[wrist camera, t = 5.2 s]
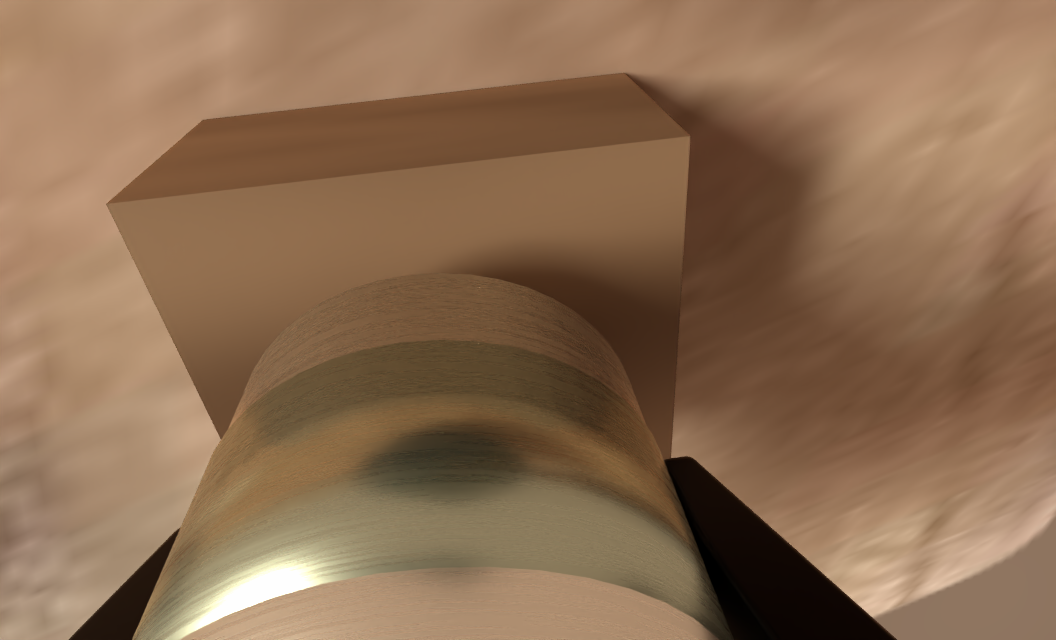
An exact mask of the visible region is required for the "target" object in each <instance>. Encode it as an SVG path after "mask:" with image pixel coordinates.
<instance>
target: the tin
mask: <svg viewBox="0 0 1056 640" xmlns="http://www.w3.org/2000/svg"><path fill="white" fill-rule="evenodd" d="M132 640H734V639H733V636H732V634H731V631H730V629H729V626H728V623H727V621H726V618H725V616H724V613H723V611H722V608H721V605H720V603H719V600H718V598H717V595H716V593H715V590H714V588H713V585H712V582H711V580H710V577H709V575H708V572H707V570H706V567H705V564H704V562H703V559H702V557H701V554H700V552H699V549H698V546H697V544H696V541H695V539H694V536H693V534H692V531H691V528H690V526H689V523H688V521H687V518H686V516H685V513H684V511H683V508H682V505H681V503H680V500H679V498H678V495H677V493H676V490H675V487H674V485H673V482H672V480H671V477H670V475H669V472H668V469H667V467H666V464H665V462H664V459H663V457H662V454H661V452H660V450H659V447H658V445H657V443H656V441H655V438H654V436H653V434H652V433H651V431H650V430H649V429H648V427H647V426H646V423H645V420H644V418H643V415H642V413H641V410H640V407H639V405H638V402H637V399H636V397H635V394H634V392H633V389H632V386H631V384H630V381H629V379H628V376H627V374H626V372H625V370H624V367H623V365H622V363H621V361H620V359H619V358H618V356H617V355H616V353H615V352H614V350H613V349H612V347H611V346H610V344H609V343H608V342H607V341H606V340H605V338H604V337H603V336H602V335H601V334H600V333H599V332H598V331H597V330H596V329H595V328H594V327H593V326H592V325H591V324H590V323H588V322H587V321H586V320H585V319H584V318H582V317H581V316H580V315H579V314H577V313H576V312H575V311H573V310H572V309H570V308H568V307H567V306H565V305H563V304H561V303H560V302H558V301H556V300H555V299H553V298H551V297H549V296H546V295H544V294H542V293H540V292H537V291H535V290H533V289H530V288H528V287H525V286H521V285H518V284H515V283H511V282H508V281H504V280H501V279H496V278H490V277H484V276H478V275H472V274H454V273H429V274H414V275H406V276H400V277H395V278H389V279H384V280H379V281H376V282H372V283H369V284H366V285H363V286H359V287H356V288H353V289H350V290H348V291H346V292H343V293H341V294H339V295H337V296H335V297H332V298H330V299H328V300H326V301H324V302H322V303H321V304H319V305H317V306H316V307H314V308H313V309H311V310H309V311H308V312H306V313H304V314H303V315H301V316H300V317H299V318H298V319H297V320H295V321H294V322H293V323H292V324H291V325H289V326H288V327H287V328H286V329H285V330H283V331H282V332H281V333H280V334H279V336H278V337H277V338H276V339H275V340H274V341H273V342H272V343H271V345H270V346H269V347H268V348H267V349H266V350H265V352H264V353H263V355H262V357H261V358H260V360H259V361H258V363H257V365H256V366H255V368H254V369H253V372H252V374H251V376H250V379H249V381H248V383H247V386H246V388H245V390H244V393H243V395H242V397H241V400H240V402H239V405H238V407H237V409H236V412H235V414H234V416H233V419H232V421H231V423H230V426H229V428H228V430H227V431H226V433H225V435H224V436H223V438H222V439H221V441H220V442H219V444H218V446H217V447H216V449H215V450H214V452H213V454H212V456H211V459H210V461H209V463H208V466H207V468H206V470H205V473H204V475H203V477H202V480H201V482H200V484H199V486H198V489H197V491H196V493H195V496H194V498H193V500H192V503H191V505H190V507H189V510H188V512H187V514H186V516H185V519H184V521H183V523H182V526H181V528H180V530H179V533H178V535H177V537H176V540H175V542H174V544H173V546H172V549H171V551H170V553H169V556H168V558H167V560H166V563H165V565H164V567H163V570H162V572H161V574H160V576H159V579H158V581H157V583H156V586H155V588H154V590H153V593H152V595H151V597H150V599H149V602H148V604H147V606H146V609H145V611H144V613H143V616H142V618H141V620H140V623H139V625H138V627H137V629H136V632H135V634H134V636H133V639H132Z"/></svg>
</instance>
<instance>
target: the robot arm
mask: <svg viewBox="0 0 1056 640" xmlns="http://www.w3.org/2000/svg"><path fill="white" fill-rule="evenodd" d="M664 462H665V464H666V467H667V469H668V472H669V475H670V477H671V480H672V482H673V485H674V487H675V490H676V493H677V495H678V498H679V500H680V503H681V505H682V508H683V511H684V513H685V516H686V518H687V521H688V523H689V526H690V528H691V531H692V534H693V536H694V539H695V541H696V544H697V546H698V549H699V552H700V554H701V557H702V559H703V562H704V564H705V567H706V570H707V572H708V575H709V577H710V580H711V582H712V585H713V588H714V590H715V593H716V595H717V598H718V600H719V603H720V605H721V608H722V611H723V613H724V616H725V618H726V621H727V623H728V626H729V629H730V631H731V634H732V636H733V639H734V640H897V639H896V638H895V637H894V636H892V635H891V634H890V633H889V632H888V631H887V630H886V629H884V628H883V627H882V626H881V625H880V624H879V623H878V622H877V621H876V620H874V619H873V618H872V617H871V616H870V615H869V614H868V613H867V612H865V611H864V610H863V609H862V608H861V607H860V606H859V605H858V604H856V603H855V602H854V601H853V600H852V599H851V598H850V597H849V596H847V595H846V594H845V593H844V592H843V591H842V590H841V589H840V588H838V587H837V586H836V585H835V584H834V583H833V582H832V581H831V580H829V579H828V578H827V577H826V576H825V575H824V574H823V573H822V572H820V571H819V570H818V569H817V568H816V567H815V566H814V565H813V564H811V563H810V562H809V561H808V560H807V559H806V558H805V557H804V556H802V555H801V554H800V553H799V552H798V551H797V550H796V549H795V548H793V547H792V546H791V545H790V544H789V543H788V542H787V541H786V540H784V539H783V538H782V537H781V536H780V535H779V534H778V533H777V532H775V531H774V530H773V529H772V528H771V527H770V526H769V525H768V524H766V523H765V522H764V521H763V520H762V519H761V518H760V517H759V516H757V515H756V514H755V513H754V512H753V511H752V510H751V509H750V508H748V507H747V506H746V505H745V504H744V503H743V502H742V501H741V500H739V499H738V498H737V497H736V496H735V495H734V494H733V493H732V492H730V491H729V490H728V489H727V488H726V487H725V486H724V485H723V484H721V483H720V482H719V481H718V480H717V479H716V478H715V477H714V476H712V475H711V474H710V473H709V472H708V471H707V470H706V469H705V468H704V467H702V466H701V465H700V464H699V463H698V462H697V461H696V460H694V459H693V458H691V457H688V456H685V457H678V458H670V459H665V460H664ZM180 528H181V527H180ZM180 528H179V529H178V530H176V531H175V532H174V533H173V534H172V535H171V536H170V537H169V538H168V539H167V540H166V541H165V542H164V543H163V544H162V545H161V546H160V547H159V548H158V549H157V550H156V551H155V552H154V553H153V554H152V555H151V556H150V557H149V558H148V559H147V560H146V561H145V562H144V564H143V565H142V566H141V567H140V568H139V569H138V570H137V571H136V572H135V573H134V574H133V575H132V576H131V577H130V578H129V579H128V580H127V581H126V582H125V583H124V584H123V585H122V586H121V587H120V588H119V589H118V590H117V591H116V592H115V593H114V594H113V595H112V596H111V597H110V598H109V599H108V600H107V601H106V602H105V603H104V604H103V605H102V606H101V607H100V608H99V609H98V610H97V611H96V612H95V613H94V614H93V615H92V616H91V617H90V618H89V619H88V620H87V621H86V622H85V623H84V624H83V625H82V626H81V627H80V628H79V629H78V630H77V631H76V632H75V634H74V635H73V636H72V637H71V638H70V639H69V640H132V639H133V636H134V634H135V632H136V629H137V627H138V625H139V623H140V620H141V618H142V616H143V613H144V611H145V609H146V606H147V604H148V602H149V599H150V597H151V595H152V593H153V590H154V588H155V586H156V583H157V581H158V579H159V576H160V574H161V572H162V570H163V567H164V565H165V563H166V560H167V558H168V556H169V553H170V551H171V549H172V546H173V544H174V542H175V540H176V537H177V535H178V533H179V530H180Z"/></svg>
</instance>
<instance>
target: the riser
mask: <svg viewBox="0 0 1056 640" xmlns="http://www.w3.org/2000/svg"><path fill="white" fill-rule="evenodd" d="M689 152H690V135H689V134H688V133H687V132H686V131H685V130H684V129H683V128H682V127H681V126H679V125H678V124H677V123H676V122H675V121H674V120H673V119H672V118H671V117H670V116H669V115H668V114H667V113H666V112H665V111H664V110H663V109H662V108H661V107H660V106H659V105H657V104H656V103H655V102H654V101H653V100H652V99H651V98H650V97H649V96H648V95H647V94H646V93H645V92H644V91H643V90H642V89H641V88H640V87H639V86H638V85H637V84H635V83H634V82H633V81H632V80H631V79H630V78H629V77H628V76H627V75H626V74H625V73H619V74H610V75H601V76H592V77H583V78H574V79H565V80H556V81H547V82H538V83H529V84H520V85H512V86H503V87H494V88H485V89H476V90H467V91H458V92H449V93H440V94H431V95H422V96H413V97H404V98H395V99H386V100H377V101H368V102H359V103H350V104H341V105H332V106H324V107H315V108H306V109H297V110H288V111H279V112H270V113H261V114H252V115H243V116H234V117H225V118H216V119H207V120H202V121H201V122H200V123H199V124H198V125H197V126H196V127H194V128H193V129H192V130H191V131H190V132H189V133H188V134H186V135H185V136H184V137H183V138H182V139H181V140H179V141H178V142H177V143H176V144H175V145H174V146H173V147H171V148H170V149H169V150H168V151H167V152H166V153H164V154H163V155H162V156H161V157H160V158H159V159H158V160H156V161H155V162H154V163H153V164H152V165H151V166H149V167H148V168H147V169H146V170H145V171H144V172H143V173H141V174H140V175H139V176H138V177H137V178H136V179H134V180H133V181H132V182H131V183H130V184H129V185H128V186H126V187H125V188H124V189H123V190H122V191H121V192H120V193H118V194H117V195H116V196H115V197H114V198H113V199H111V200H110V201H109V202H108V203H107V204H106V205H107V207H108V209H109V211H110V213H111V215H112V217H113V219H114V221H115V223H116V225H117V227H118V229H119V231H120V233H121V235H122V237H123V239H124V241H125V244H126V246H127V248H128V250H129V252H130V254H131V256H132V258H133V260H134V262H135V264H136V266H137V268H138V270H139V272H140V274H141V276H142V278H143V280H144V282H145V285H146V287H147V289H148V291H149V293H150V295H151V297H152V299H153V301H154V303H155V305H156V307H157V309H158V311H159V313H160V315H161V317H162V319H163V321H164V323H165V326H166V328H167V330H168V332H169V334H170V336H171V338H172V340H173V342H174V344H175V346H176V348H177V350H178V352H179V354H180V356H181V358H182V360H183V362H184V365H185V367H186V369H187V371H188V373H189V375H190V377H191V379H192V381H193V383H194V385H195V387H196V389H197V391H198V393H199V395H200V397H201V399H202V401H203V403H204V406H205V408H206V410H207V412H208V414H209V416H210V418H211V420H212V422H213V424H214V426H215V428H216V430H217V432H218V434H219V436H220V438H221V439H222V438H223V436H224V435H225V433H226V431H227V430H228V428H229V426H230V423H231V421H232V419H233V416H234V414H235V412H236V409H237V407H238V405H239V402H240V400H241V397H242V395H243V393H244V390H245V388H246V386H247V383H248V381H249V379H250V376H251V374H252V372H253V369H254V368H255V366H256V365H257V363H258V361H259V360H260V358H261V357H262V355H263V353H264V352H265V350H266V349H267V348H268V347H269V346H270V345H271V343H272V342H273V341H274V340H275V339H276V338H277V337H278V336H279V334H280V333H281V332H282V331H283V330H285V329H286V328H287V327H288V326H289V325H291V324H292V323H293V322H294V321H295V320H297V319H298V318H299V317H300V316H301V315H303V314H304V313H306V312H308V311H309V310H311V309H313V308H314V307H316V306H317V305H319V304H321V303H322V302H324V301H326V300H328V299H330V298H332V297H335V296H337V295H339V294H341V293H343V292H346V291H348V290H350V289H353V288H356V287H359V286H363V285H366V284H369V283H372V282H376V281H379V280H384V279H389V278H395V277H400V276H406V275H414V274H429V273H454V274H472V275H478V276H484V277H490V278H496V279H501V280H504V281H508V282H511V283H515V284H518V285H521V286H525V287H528V288H530V289H533V290H535V291H537V292H540V293H542V294H544V295H546V296H549V297H551V298H553V299H555V300H556V301H558V302H560V303H561V304H563V305H565V306H567V307H568V308H570V309H572V310H573V311H575V312H576V313H577V314H579V315H580V316H581V317H582V318H584V319H585V320H586V321H587V322H588V323H590V324H591V325H592V326H593V327H594V328H595V329H596V330H597V331H598V332H599V333H600V334H601V335H602V336H603V337H604V338H605V340H606V341H607V342H608V343H609V344H610V346H611V347H612V349H613V350H614V352H615V353H616V355H617V356H618V358H619V359H620V361H621V363H622V365H623V367H624V370H625V372H626V374H627V376H628V379H629V381H630V384H631V386H632V389H633V392H634V394H635V397H636V399H637V402H638V405H639V407H640V410H641V413H642V415H643V418H644V420H645V423H646V426H647V427H648V429H649V430H650V431H651V433H652V434H653V436H654V438H655V441H656V443H657V445H658V447H659V450H660V452H661V454H662V457H663V459H664V460H665V459H670V458H671V447H672V431H673V414H674V398H675V382H676V365H677V349H678V333H679V316H680V300H681V283H682V267H683V251H684V234H685V218H686V202H687V185H688V169H689Z"/></svg>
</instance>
